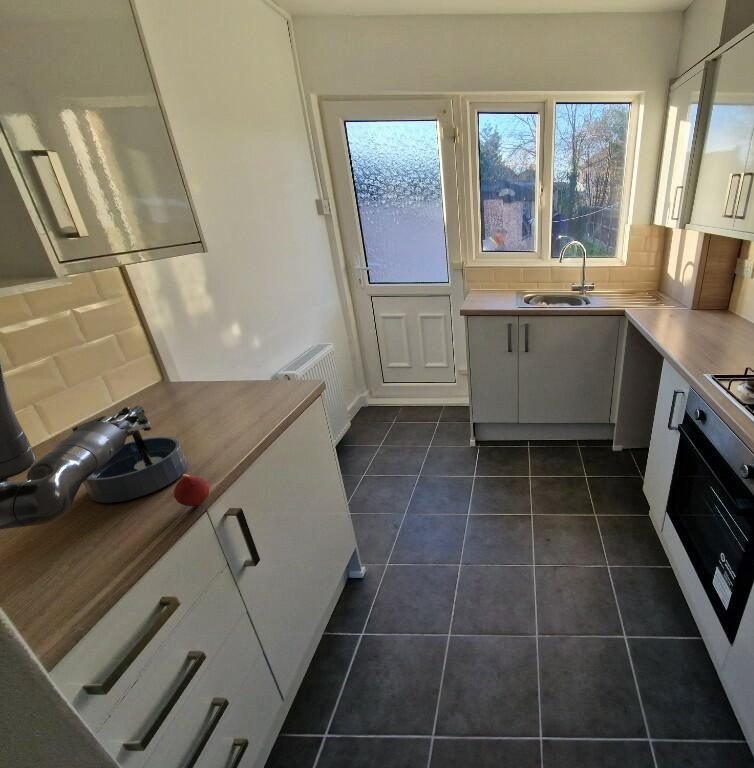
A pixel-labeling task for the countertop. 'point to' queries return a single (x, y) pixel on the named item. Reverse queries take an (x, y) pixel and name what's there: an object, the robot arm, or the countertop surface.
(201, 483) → the onion
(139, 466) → the weighted rod stand
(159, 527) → the countertop surface
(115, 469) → the bowl
